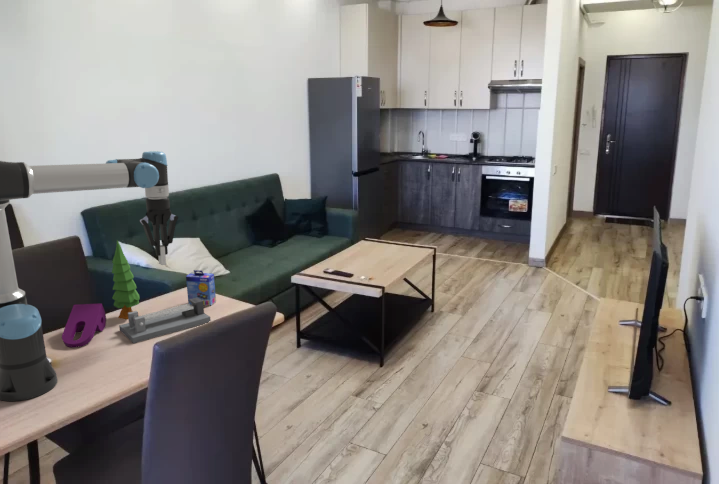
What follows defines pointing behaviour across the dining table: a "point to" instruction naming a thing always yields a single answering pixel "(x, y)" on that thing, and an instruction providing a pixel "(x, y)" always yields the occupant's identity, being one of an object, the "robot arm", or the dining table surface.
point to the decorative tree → (123, 284)
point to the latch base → (164, 323)
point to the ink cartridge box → (201, 287)
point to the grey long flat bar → (166, 312)
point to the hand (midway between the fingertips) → (162, 263)
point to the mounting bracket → (84, 324)
